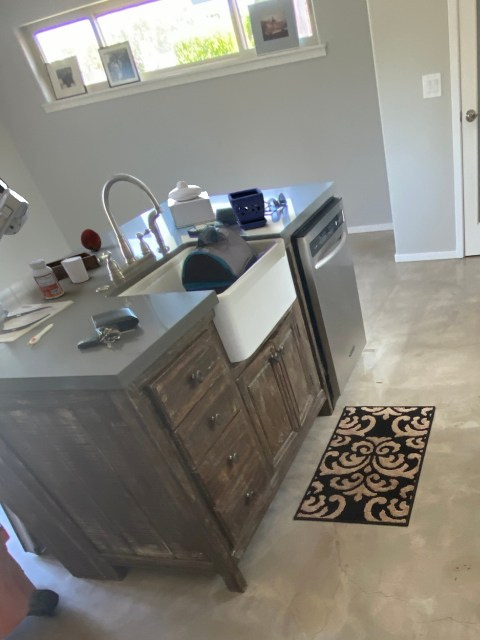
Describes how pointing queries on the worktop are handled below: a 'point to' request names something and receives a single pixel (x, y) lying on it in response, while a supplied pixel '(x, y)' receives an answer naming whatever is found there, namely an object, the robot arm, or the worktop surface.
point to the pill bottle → (46, 279)
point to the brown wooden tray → (57, 267)
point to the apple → (90, 240)
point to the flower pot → (248, 208)
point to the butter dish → (189, 205)
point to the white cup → (75, 269)
